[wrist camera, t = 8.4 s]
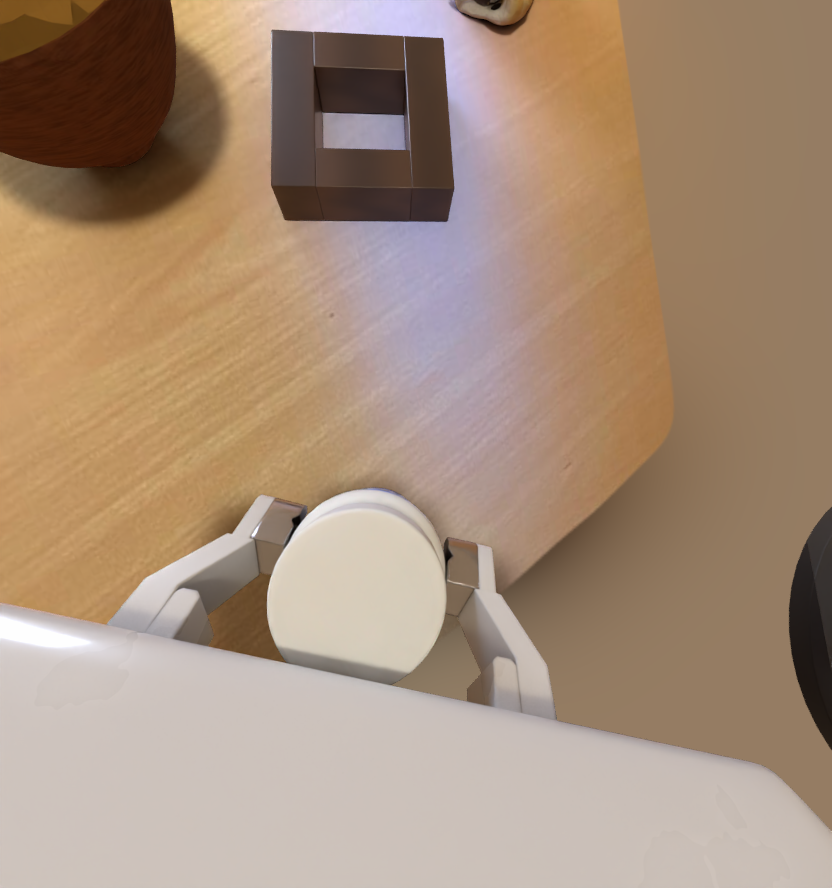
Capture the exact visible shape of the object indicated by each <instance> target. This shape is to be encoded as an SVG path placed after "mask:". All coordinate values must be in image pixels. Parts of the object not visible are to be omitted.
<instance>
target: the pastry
mask: <svg viewBox="0 0 832 888" xmlns="http://www.w3.org/2000/svg"><path fill="white" fill-rule="evenodd" d="M532 1H533V0H455V3H456V7H457V9H458V10H459V11H460V12H463V13H465V14H468V15H470V16H471V17H475V18H480V19H487V20H489V21H490V22H492V23H494V24H497V25H503V26H504V25H512V24H514V23H516V22H517V21H519V20H520V19H521V18H523V17H524V15H525V14H526V12H527V11H528V9H529V7H530V6H531V4H532Z"/></svg>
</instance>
